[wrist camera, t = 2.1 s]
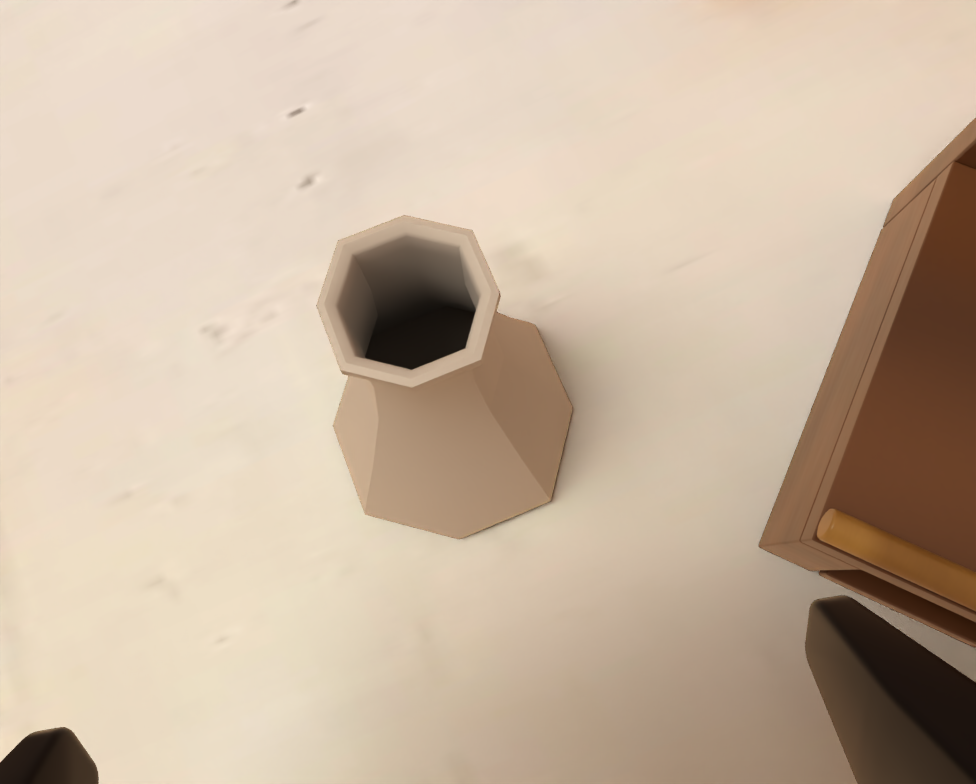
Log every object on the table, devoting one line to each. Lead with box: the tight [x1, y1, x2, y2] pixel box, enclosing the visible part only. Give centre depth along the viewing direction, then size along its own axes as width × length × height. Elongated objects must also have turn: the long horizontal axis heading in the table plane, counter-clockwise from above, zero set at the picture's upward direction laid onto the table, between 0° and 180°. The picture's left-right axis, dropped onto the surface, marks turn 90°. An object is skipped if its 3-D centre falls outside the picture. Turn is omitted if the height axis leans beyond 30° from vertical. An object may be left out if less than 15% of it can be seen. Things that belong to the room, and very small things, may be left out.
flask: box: [316, 215, 573, 539], centre depth 18 cm, size 7×7×10 cm
